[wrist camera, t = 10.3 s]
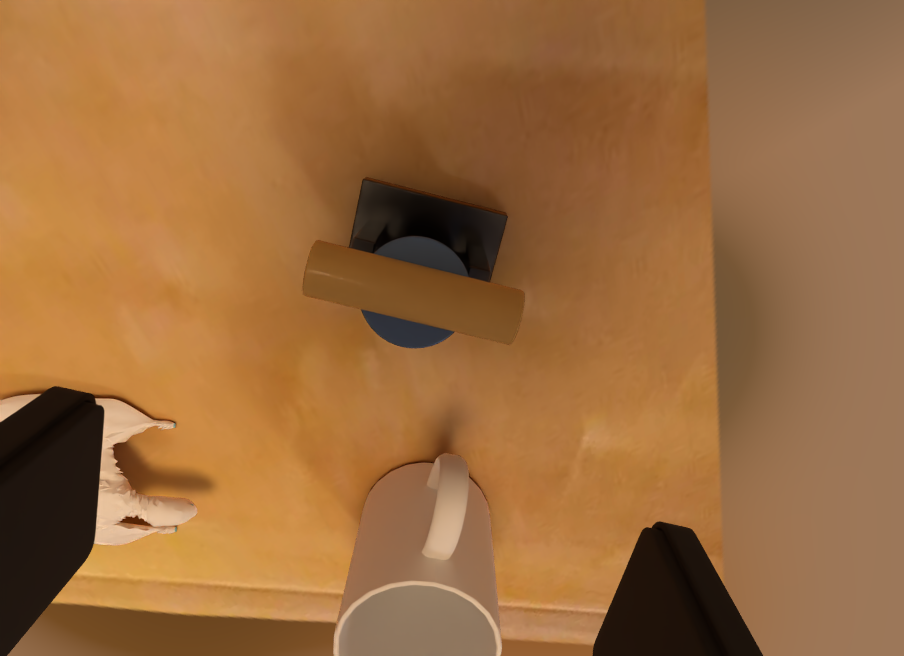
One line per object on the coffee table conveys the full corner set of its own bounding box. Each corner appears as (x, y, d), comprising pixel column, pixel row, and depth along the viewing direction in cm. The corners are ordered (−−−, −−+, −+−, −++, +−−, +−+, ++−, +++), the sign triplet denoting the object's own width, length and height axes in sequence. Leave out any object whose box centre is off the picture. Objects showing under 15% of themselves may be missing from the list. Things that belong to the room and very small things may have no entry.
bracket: (365, 176, 33) (345, 190, 27) (506, 212, 33) (518, 233, 27) (342, 291, 35) (318, 328, 28) (475, 324, 35) (480, 366, 29)
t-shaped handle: (317, 209, 17) (292, 326, 17) (536, 264, 17) (506, 377, 17) (362, 223, 28) (346, 291, 29) (489, 255, 29) (472, 322, 29)
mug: (473, 577, 41) (480, 726, 31) (353, 555, 40) (321, 699, 30) (520, 411, 37) (545, 519, 27) (388, 384, 36) (364, 485, 26)
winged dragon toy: (-73, 519, 39) (-132, 564, 35) (-97, 370, 36) (-164, 401, 32) (215, 550, 40) (189, 597, 36) (217, 407, 37) (189, 441, 33)
